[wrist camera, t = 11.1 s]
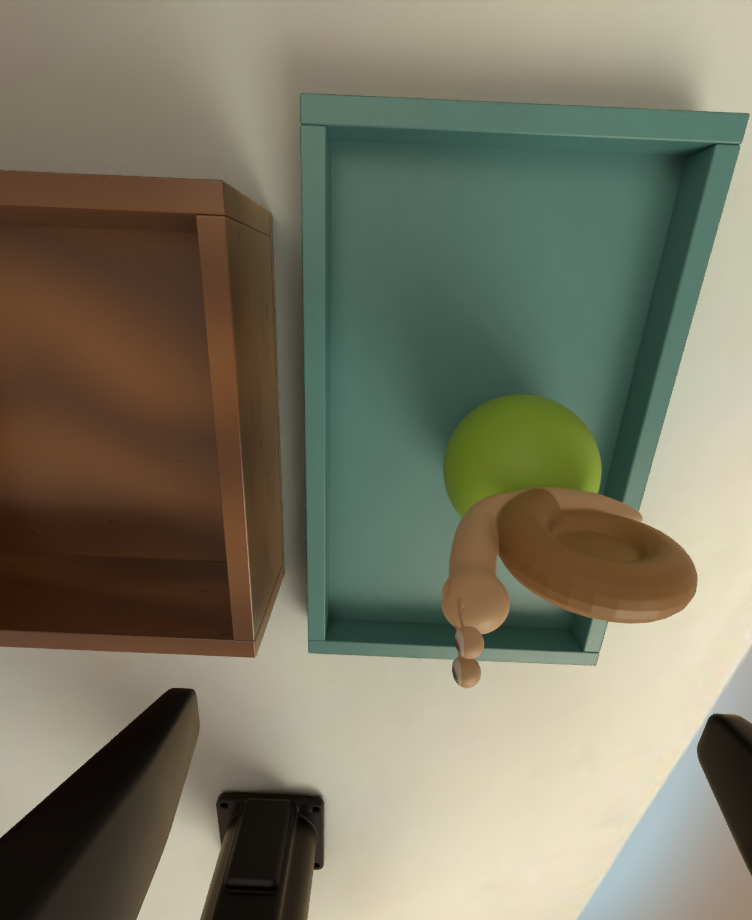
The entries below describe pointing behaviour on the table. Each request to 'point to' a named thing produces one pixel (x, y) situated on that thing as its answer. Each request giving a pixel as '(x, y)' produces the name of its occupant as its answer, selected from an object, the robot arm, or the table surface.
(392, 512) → the tray
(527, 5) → the table surface
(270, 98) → the table surface
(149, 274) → the wooden box
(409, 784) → the table surface
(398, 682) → the table surface
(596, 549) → the snail figurine
